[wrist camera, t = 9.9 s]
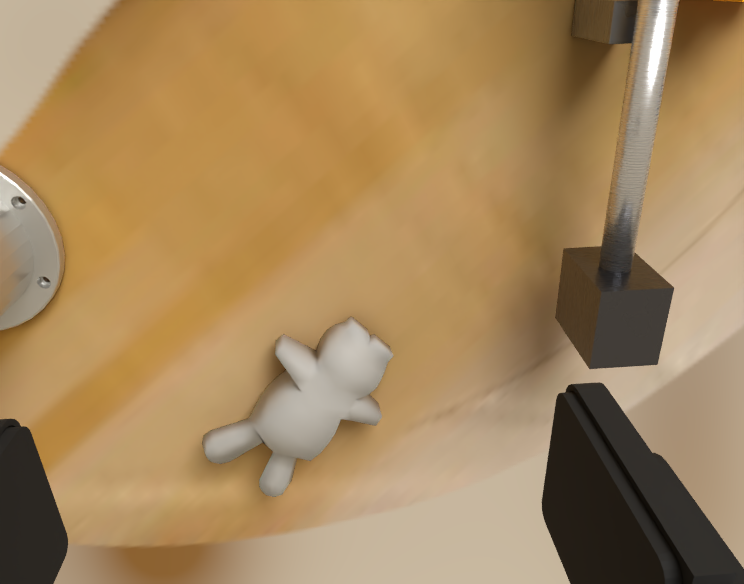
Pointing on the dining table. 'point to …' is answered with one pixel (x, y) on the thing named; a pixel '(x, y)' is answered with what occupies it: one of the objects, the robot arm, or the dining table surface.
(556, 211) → the dining table surface
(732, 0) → the pipe clamp
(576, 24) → the grey square ring
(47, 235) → the robot arm
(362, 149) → the dining table surface
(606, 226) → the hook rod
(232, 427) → the light grey rounded piece
